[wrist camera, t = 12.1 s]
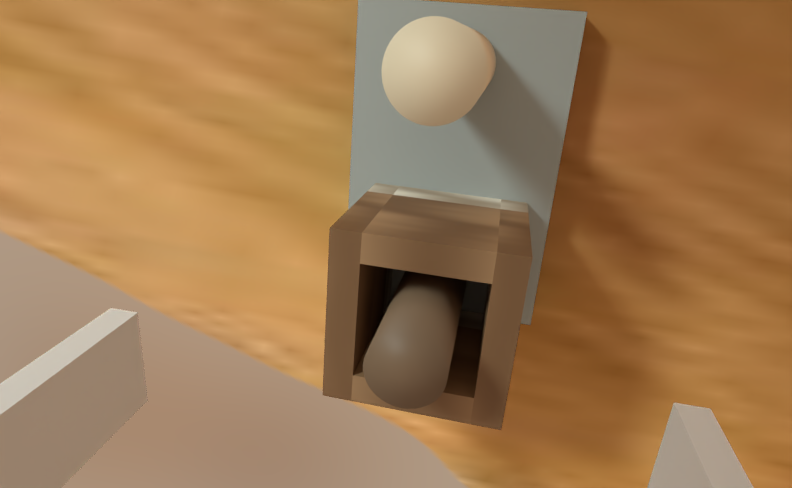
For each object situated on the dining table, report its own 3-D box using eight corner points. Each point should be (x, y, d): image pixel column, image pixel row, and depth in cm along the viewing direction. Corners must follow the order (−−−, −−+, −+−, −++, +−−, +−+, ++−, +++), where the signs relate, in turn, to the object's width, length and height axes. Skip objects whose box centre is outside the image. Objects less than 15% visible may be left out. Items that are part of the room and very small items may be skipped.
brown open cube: (366, 315, 24) (322, 395, 19) (375, 182, 22) (330, 228, 17) (503, 338, 23) (501, 429, 18) (527, 202, 21) (532, 257, 16)
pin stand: (351, 284, 25) (269, 405, 17) (366, -2, 21) (267, -35, 12) (529, 312, 24) (538, 458, 15) (583, 14, 20) (636, -12, 11)
